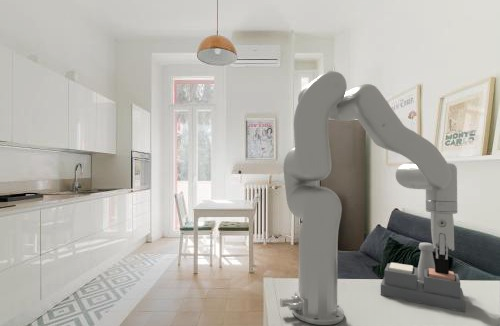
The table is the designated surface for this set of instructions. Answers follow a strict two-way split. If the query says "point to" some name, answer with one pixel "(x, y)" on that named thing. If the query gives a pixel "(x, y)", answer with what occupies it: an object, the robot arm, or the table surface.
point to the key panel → (423, 289)
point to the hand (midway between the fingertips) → (441, 272)
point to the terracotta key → (441, 275)
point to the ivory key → (401, 268)
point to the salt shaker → (425, 259)
